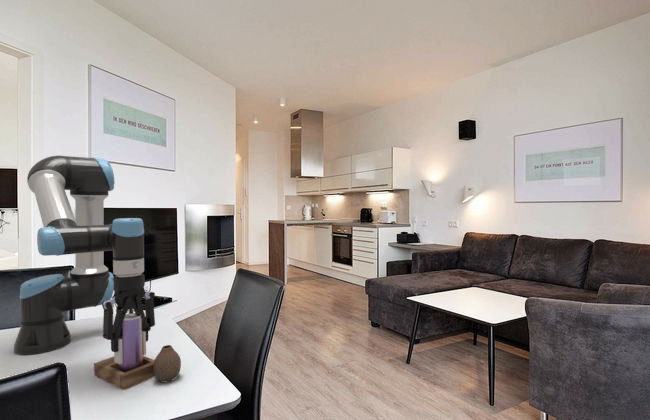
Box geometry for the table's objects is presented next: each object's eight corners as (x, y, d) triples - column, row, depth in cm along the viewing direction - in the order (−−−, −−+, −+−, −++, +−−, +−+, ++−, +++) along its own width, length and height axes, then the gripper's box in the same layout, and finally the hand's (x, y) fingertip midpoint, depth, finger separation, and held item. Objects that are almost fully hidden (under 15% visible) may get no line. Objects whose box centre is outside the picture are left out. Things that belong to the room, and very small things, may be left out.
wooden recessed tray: (94, 375, 101) (94, 363, 101) (129, 362, 109) (129, 350, 109) (123, 389, 93) (123, 376, 93) (159, 374, 101) (159, 361, 101)
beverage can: (132, 376, 96) (131, 320, 96) (113, 374, 98) (112, 318, 97) (147, 366, 102) (146, 313, 102) (129, 364, 103) (128, 312, 103)
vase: (173, 370, 103) (172, 340, 103) (186, 377, 99) (185, 345, 99) (148, 379, 98) (148, 347, 98) (161, 387, 94) (160, 353, 94)
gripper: (99, 282, 90) (101, 375, 90) (168, 270, 106) (169, 349, 106) (84, 279, 94) (86, 368, 94) (153, 268, 110) (154, 344, 110)
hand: (130, 358), depth 100 cm, fingers closed on beverage can, 6 cm apart
